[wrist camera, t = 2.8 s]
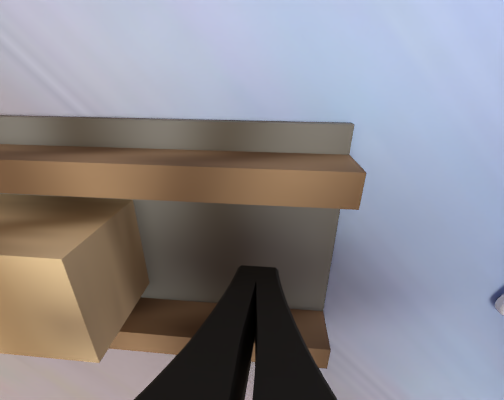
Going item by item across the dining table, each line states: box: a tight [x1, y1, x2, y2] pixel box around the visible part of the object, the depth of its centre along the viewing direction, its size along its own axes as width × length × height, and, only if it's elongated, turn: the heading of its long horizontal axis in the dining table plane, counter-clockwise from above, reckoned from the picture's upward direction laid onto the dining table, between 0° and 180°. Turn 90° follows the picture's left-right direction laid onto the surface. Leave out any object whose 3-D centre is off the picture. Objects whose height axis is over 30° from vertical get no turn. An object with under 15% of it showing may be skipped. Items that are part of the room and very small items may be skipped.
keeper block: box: [0, 194, 149, 363], centre depth 10 cm, size 6×4×4 cm
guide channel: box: [0, 115, 366, 369], centre depth 11 cm, size 22×11×2 cm, turn 90°
